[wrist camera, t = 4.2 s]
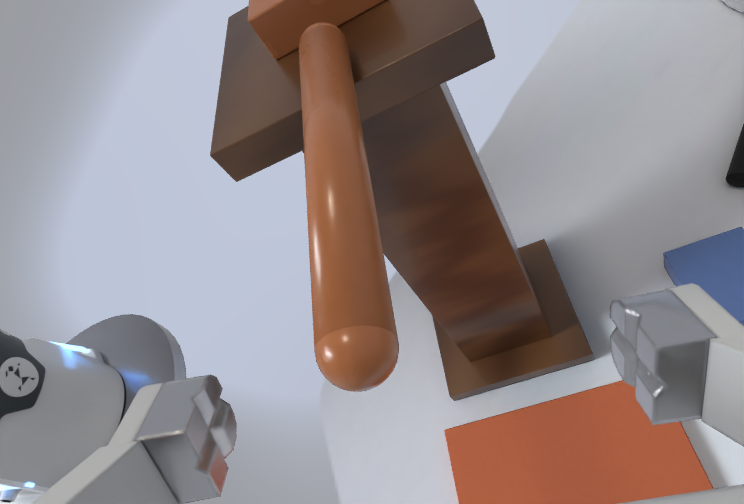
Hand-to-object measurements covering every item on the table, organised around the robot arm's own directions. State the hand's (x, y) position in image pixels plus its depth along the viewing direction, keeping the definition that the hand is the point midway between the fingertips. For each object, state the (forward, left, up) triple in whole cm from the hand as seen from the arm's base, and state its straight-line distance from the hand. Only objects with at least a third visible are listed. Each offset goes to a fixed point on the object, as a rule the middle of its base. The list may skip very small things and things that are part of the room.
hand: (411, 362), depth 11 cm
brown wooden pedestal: (-1, +15, -26) cm, 30 cm away
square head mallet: (-1, +9, 0) cm, 9 cm away
